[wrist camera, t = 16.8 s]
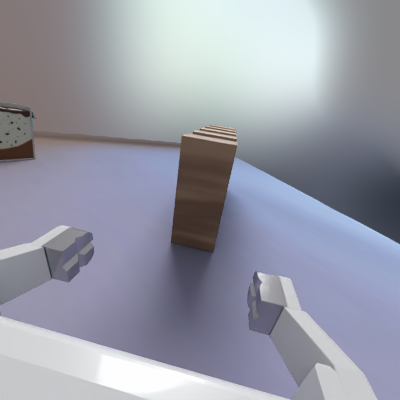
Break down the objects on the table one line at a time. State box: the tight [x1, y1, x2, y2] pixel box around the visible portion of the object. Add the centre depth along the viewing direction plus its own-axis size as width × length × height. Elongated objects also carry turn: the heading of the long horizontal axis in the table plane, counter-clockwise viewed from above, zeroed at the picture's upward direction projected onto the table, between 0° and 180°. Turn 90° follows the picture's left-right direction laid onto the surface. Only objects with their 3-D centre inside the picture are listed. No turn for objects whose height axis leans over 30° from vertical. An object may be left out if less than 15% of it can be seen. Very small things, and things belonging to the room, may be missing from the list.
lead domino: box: [171, 133, 237, 252], centre depth 21 cm, size 2×5×12 cm, turn 80°
